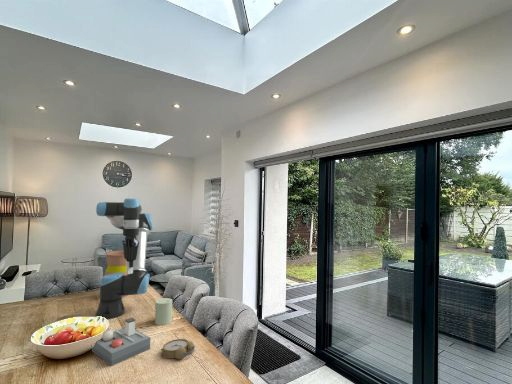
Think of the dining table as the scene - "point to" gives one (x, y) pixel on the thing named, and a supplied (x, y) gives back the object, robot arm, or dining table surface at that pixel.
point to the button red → (116, 343)
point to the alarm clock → (178, 348)
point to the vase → (116, 263)
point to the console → (122, 346)
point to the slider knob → (129, 326)
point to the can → (163, 311)
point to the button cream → (107, 335)
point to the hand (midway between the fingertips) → (129, 273)
